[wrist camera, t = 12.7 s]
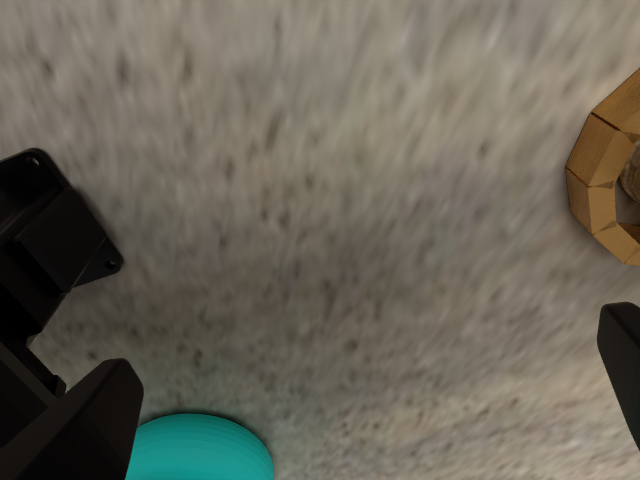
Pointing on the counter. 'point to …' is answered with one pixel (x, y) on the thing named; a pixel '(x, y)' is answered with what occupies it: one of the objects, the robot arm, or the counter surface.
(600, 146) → the coupling jig
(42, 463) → the robot arm
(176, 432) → the donuts
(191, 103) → the counter surface
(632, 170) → the sprinkles bottle
